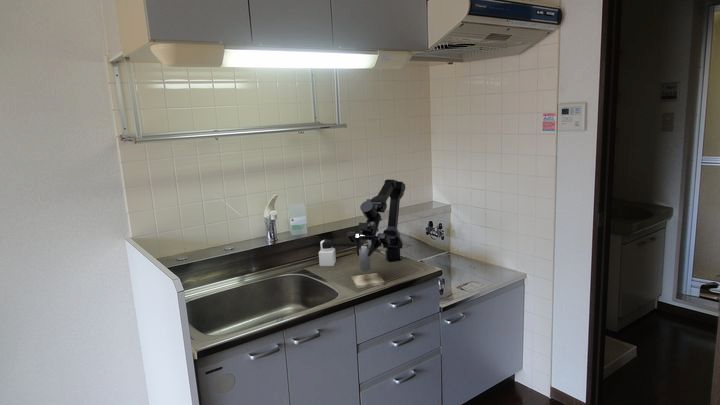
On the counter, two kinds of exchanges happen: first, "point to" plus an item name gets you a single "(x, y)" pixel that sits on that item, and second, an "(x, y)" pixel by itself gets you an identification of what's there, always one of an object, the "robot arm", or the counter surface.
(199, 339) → the counter surface
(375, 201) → the robot arm
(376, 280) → the birch board
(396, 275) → the counter surface
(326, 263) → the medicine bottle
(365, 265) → the white-capped grey cylinder
